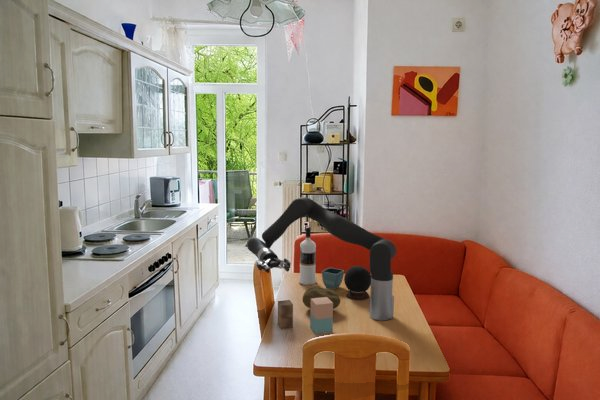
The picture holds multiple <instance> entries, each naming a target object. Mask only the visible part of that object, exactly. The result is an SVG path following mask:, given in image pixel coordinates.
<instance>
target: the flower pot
mask: <svg viewBox="0 0 600 400" xmlns="http://www.w3.org/2000/svg"><path fill="white" fill-rule="evenodd" d="M344 276H345V270H343V269H339V268H334V267H328V268H326V269H323V270H322V271H321V279H322V282H323V285H324V287H325V289H329V290H336V289H338V288H339V287H340V286H341V284H342V283H343V281H344Z"/></svg>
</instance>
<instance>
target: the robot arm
mask: <svg viewBox="0 0 600 400" xmlns="http://www.w3.org/2000/svg"><path fill="white" fill-rule="evenodd" d="M301 218H308V219H310V220H313V221H316V223H319V224H320V225H321V226H322V227H323V228H324V229H325V230H326V231H327V233H329V234H330V235H331V236H333V237H336V238H337V239H339V240H341V241H343V242H345V243H349V244H353V245H357V246H361V247H363V248H365V249H367V250H368V251H369V273H370V274H371V285H370V294H369V298H370V299H369V317H370V318H371V319H373V320H376V321H389V320H391V319H393V318H394V315H395V314H394V307H395V296H394V295H393V287H394V286H393V283H394V281H393V280H394V272H393V271H392V267H391V265H392V259H394V258H395V256H396V254H397V248H396V245H395V244H394V243H393V242H392V241H391V240H389V239H387V238H385V237H381V236H379V235H377V234H374V233H372V232H370V231H368V230H366V229H365V228H363V227H361V226H360V225H358V224H356V223H354V222H353V221H350V220H349V219H347V218H346V217H344V216H342V215H340V214H338V213H335V212H333V211H331V210H329V209H327V208H325V207H323V206H322V205H321V204H319V203H318V202H316V201H314V200H313V199H311V198H310V197H306V196H302V197H296V198H295V199H293V200H292V202H291V203H290V204H289V205H288V206H287V208H286V209H285V211H283V213H282V214H281V215H280V216H279V217H278V218H277V220H275V221H274V222H273V223H272V224H271V225H270V226H269V227H268V228H267V229H265V230H264V231H263V232H262V234H261V238H262V240H263V241H262V240H261V239H259V238H258V237H255V236H254V237H251V238H249V240H248V242H247V246H246V247H247V249H248V250H249V251H250V253H252V254H253V255H254V256H256V258H257V259H256V265H255V266H256V268H257V270H258V271H262V270H263V271H264V272H265V273H267V274H269V273H270V269H279V270H281V269H284V270H285V272H289V271H290V269H291V264H292V263H291V261H289V260H288V259H287V258H283V260H282V259H279V257H278V255H277V254H276V253H275V252H274V250H272V249H271V247H272V246H273V244H274V243H275V242H277V240H279V239H280V238H281V237H282V236H283V235H284V233H285V232H286V231H287V229H288V228H289V226H291V225H292V224H293V223H294V222H296V221H297V220H299V219H301Z"/></svg>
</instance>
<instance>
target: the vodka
mask: <svg viewBox="0 0 600 400" xmlns="http://www.w3.org/2000/svg"><path fill="white" fill-rule="evenodd" d="M311 235H312V234H311V227H310V226H307V227H305V239H304V240H303V241H301V242H300V243H299V244H300V245H299V248H300V250H299V255H300V256H299V276H298V282H299V283H300V284H301V285H303V286H313V285H314V284H316V283H317V277H316V276H317V275H316V267H317V266H316V251H317V249H316V248H317V244H316V242H315V241H313V240H312V239H311Z"/></svg>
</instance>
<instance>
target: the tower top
mask: <svg viewBox="0 0 600 400" xmlns="http://www.w3.org/2000/svg"><path fill="white" fill-rule="evenodd" d="M310 313H311V314H312V315H313V316H314V318H315V319H316V320H317V319H325V318H333V319H334V309H333V302H332V301H331V300H330V299H329V298H328V297H322V298H312V299H311V309H310ZM310 313H309V314H310Z"/></svg>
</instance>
